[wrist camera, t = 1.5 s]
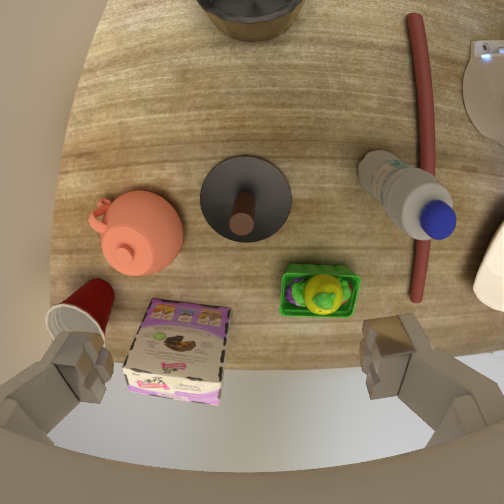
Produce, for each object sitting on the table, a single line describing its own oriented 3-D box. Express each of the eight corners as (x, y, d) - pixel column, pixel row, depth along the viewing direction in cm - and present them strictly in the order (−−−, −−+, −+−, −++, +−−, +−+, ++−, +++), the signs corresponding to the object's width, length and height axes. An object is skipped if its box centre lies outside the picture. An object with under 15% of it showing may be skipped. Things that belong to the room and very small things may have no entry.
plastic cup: (140, 306, 54) (117, 353, 44) (99, 320, 57) (74, 364, 46) (105, 256, 50) (72, 298, 39) (66, 276, 52) (33, 316, 41)
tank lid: (261, 137, 40) (261, 149, 32) (306, 214, 45) (315, 242, 37) (184, 184, 44) (166, 206, 36) (232, 252, 48) (225, 287, 40)
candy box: (154, 322, 56) (127, 392, 41) (152, 296, 53) (119, 366, 38) (229, 332, 56) (220, 408, 41) (232, 307, 53) (221, 383, 39)
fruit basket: (277, 297, 52) (279, 345, 42) (281, 248, 48) (285, 291, 38) (345, 298, 52) (361, 345, 42) (355, 251, 48) (376, 293, 38)
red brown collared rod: (420, 293, 51) (426, 304, 48) (404, 296, 51) (410, 307, 48) (419, 17, 30) (429, 14, 28) (399, 15, 31) (408, 11, 28)
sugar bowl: (160, 274, 51) (140, 313, 42) (91, 223, 47) (59, 253, 38) (203, 219, 46) (188, 253, 37) (127, 162, 42) (94, 182, 33)
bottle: (360, 139, 40) (428, 179, 22) (402, 154, 40) (484, 202, 22) (347, 185, 43) (400, 253, 25) (388, 197, 43) (456, 267, 26)
